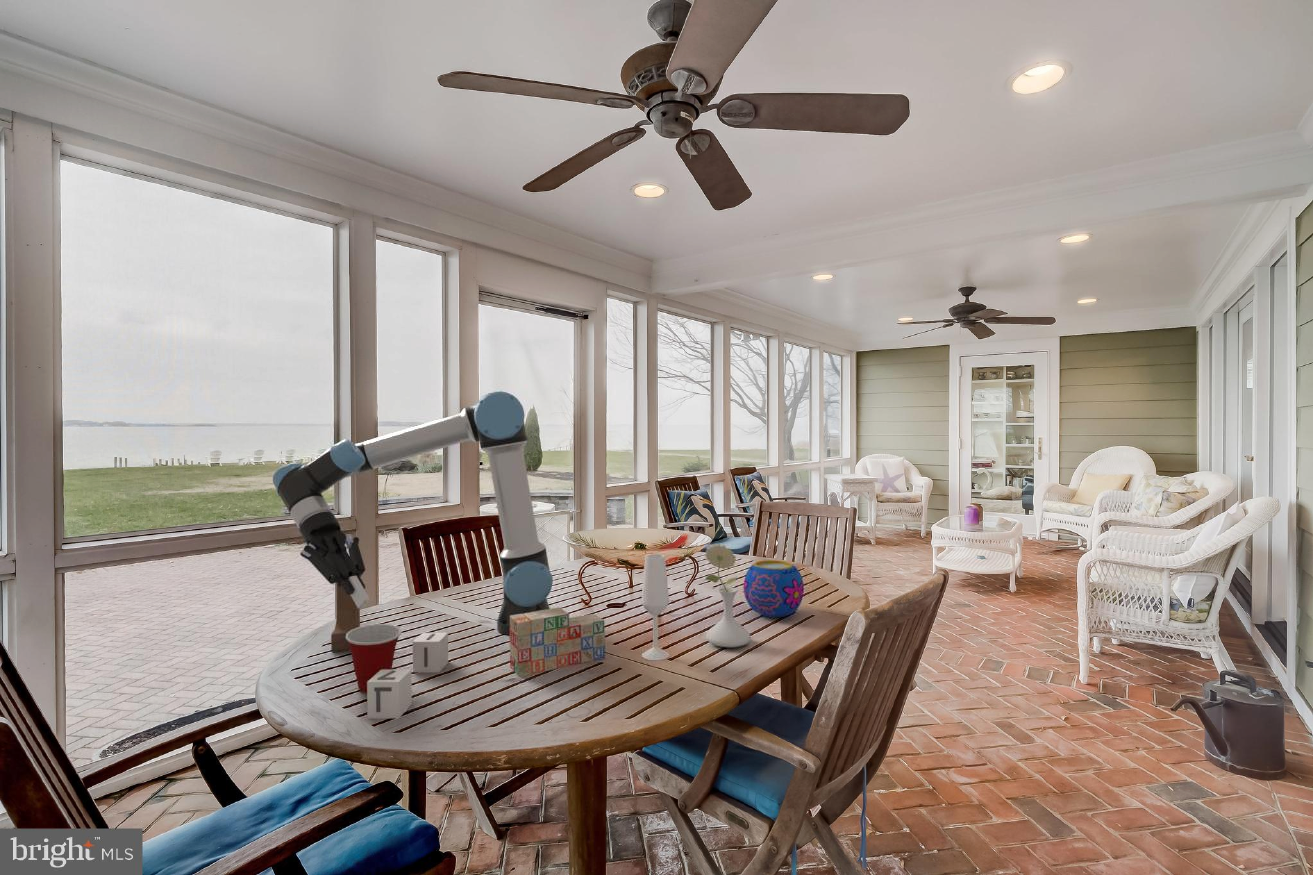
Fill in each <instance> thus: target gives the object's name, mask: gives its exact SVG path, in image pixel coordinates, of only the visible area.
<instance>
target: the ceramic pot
mask: <svg viewBox="0 0 1313 875" xmlns="http://www.w3.org/2000/svg"><path fill="white" fill-rule="evenodd" d="M742 589H743V594H744V598H745V600H746V602H747V604H748V605H749V607H750V608H751V609H752V610H753V611H754V612H756V613H757V614H760V615H762V616H764V617H768V618H781V617H782V618H783V617H787V616H789V615H791V614H793V613H794V612H797V610H798V609H799V607H800V605H801V604H802V601H803V598H804V592H805V584H804V579H803V576H802V573H800V571H799V569H798V567H796V566H795V565H794V564H793V563H791V562H789V561H783V560H777V559H775V560H772V559H771V560H760V561H756V562H754V563H753V564H751V565H750V566H749V567H748V569H747V571H746V573H745V576H744V581H743V587H742Z"/></svg>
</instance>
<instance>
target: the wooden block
mask: <svg viewBox="0 0 1313 875" xmlns="http://www.w3.org/2000/svg"><path fill="white" fill-rule="evenodd" d="M337 584H338V583H336V584H335V585H336V586H335V587H336V593H335V594H336V619H335V620H336V622H335V625H334V629H333V631H332V633H331V636H330V640H331V641H330V642H331V643H330V645H331V648H330V650H331V652H342V651H343V652H345V651H350V646H349V643H348V641H347V640H346V634H347V633H348V632H349V631H351V630H353V629H355V628H358V627H361V616H360V615H361V608H358V607H357V606H356V604H355V602H354V600H353V599H352V597H351V595H347V594H346V592H345V590H344V589H343V587H342V586H341V587H339V586H337Z"/></svg>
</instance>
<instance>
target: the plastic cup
mask: <svg viewBox="0 0 1313 875" xmlns="http://www.w3.org/2000/svg"><path fill="white" fill-rule="evenodd" d="M401 634H402V628H400V627H399V626H397V625H393V624H389V623H387V624H386V623H376V624H375V623H374V624H367V625H363V626H360V627H358V628H355V629H353V630H351V631H349V632H348V633H347V634H346V640H347V641H348V643H349V646H350V650H349V651H350V654H351V659H352V665H353V670H354V675H355V677H356V678H355V679H356V681H357V682H356V683H357V688H358V690H359V691H360V692H361V693H367V682H368V681H369V680H370V679H371V678H372V677H373V676H375V675H376V674H377V673H378V672H379V671H380V670H391V669H393V665H394V664H393V663H394V658H395V653H396V652H395V651H396V646H397V643H398V641H399V638H400V636H401Z"/></svg>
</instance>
